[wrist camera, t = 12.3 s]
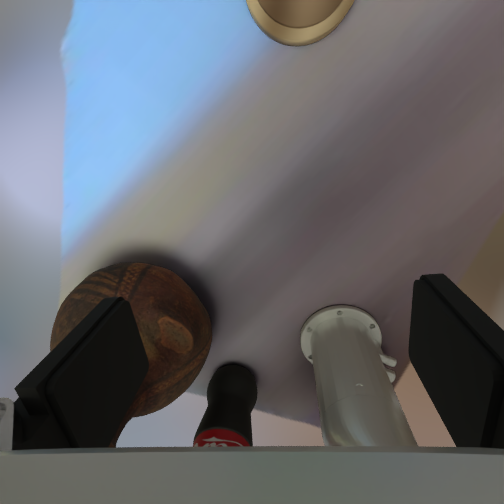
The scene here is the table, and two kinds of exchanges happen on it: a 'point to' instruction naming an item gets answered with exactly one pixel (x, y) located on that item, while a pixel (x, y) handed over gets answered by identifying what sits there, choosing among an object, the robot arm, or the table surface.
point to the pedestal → (298, 19)
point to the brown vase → (148, 328)
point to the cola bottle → (228, 409)
